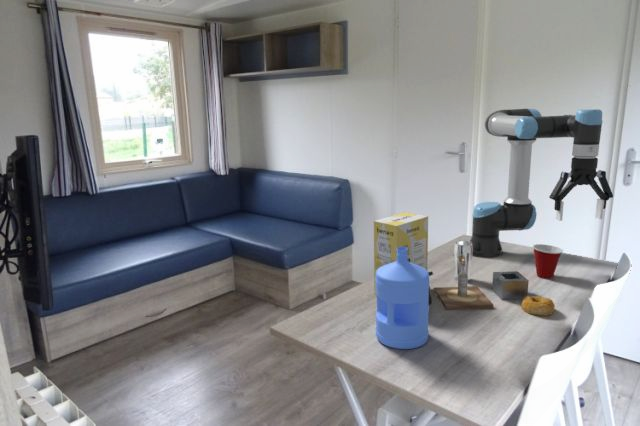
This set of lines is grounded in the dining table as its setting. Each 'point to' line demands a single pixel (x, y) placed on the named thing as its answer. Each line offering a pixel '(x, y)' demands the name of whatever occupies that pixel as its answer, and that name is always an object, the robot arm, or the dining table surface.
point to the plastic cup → (546, 260)
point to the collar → (510, 285)
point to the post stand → (462, 296)
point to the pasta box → (400, 239)
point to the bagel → (538, 305)
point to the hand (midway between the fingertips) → (578, 219)
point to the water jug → (402, 303)
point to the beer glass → (463, 257)
